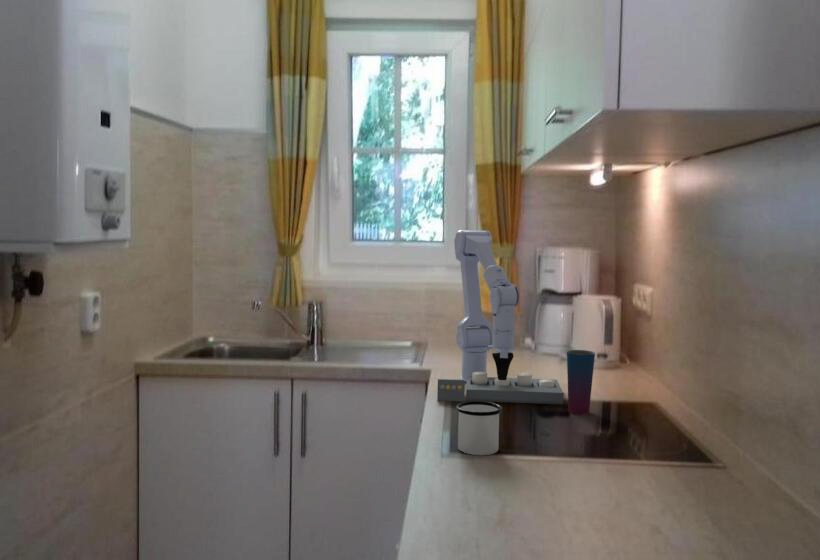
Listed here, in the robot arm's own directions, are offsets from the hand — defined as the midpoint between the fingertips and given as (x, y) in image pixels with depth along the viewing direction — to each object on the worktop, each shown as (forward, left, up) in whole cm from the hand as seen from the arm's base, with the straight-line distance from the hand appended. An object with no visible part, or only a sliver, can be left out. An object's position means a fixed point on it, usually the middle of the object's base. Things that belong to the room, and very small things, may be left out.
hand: (502, 379), depth 204 cm
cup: (+15, +18, -4) cm, 25 cm away
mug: (+48, -7, -4) cm, 49 cm away
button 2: (0, 0, -3) cm, 3 cm away
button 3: (0, +6, -2) cm, 6 cm away
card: (+9, -14, -4) cm, 17 cm away
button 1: (0, -6, -2) cm, 6 cm away
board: (0, +3, -4) cm, 5 cm away
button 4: (0, +12, -3) cm, 12 cm away
